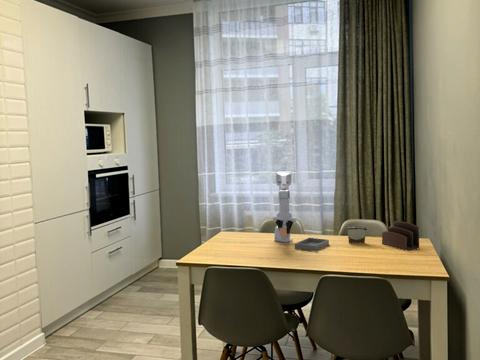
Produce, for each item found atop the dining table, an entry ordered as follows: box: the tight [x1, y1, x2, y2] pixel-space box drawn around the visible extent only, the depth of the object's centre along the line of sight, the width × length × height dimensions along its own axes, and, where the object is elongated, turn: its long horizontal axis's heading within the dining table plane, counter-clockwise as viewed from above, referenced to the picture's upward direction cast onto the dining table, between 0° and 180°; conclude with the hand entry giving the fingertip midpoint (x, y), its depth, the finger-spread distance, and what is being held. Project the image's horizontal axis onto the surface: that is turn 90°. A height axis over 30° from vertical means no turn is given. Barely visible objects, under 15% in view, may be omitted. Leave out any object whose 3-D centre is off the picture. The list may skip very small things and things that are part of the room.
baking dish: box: [294, 237, 330, 252], centre depth 263 cm, size 13×19×3 cm
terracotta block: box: [279, 227, 291, 237], centre depth 262 cm, size 4×4×5 cm
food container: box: [345, 224, 368, 244], centre depth 272 cm, size 12×6×10 cm, turn 84°
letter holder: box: [381, 220, 420, 251], centre depth 259 cm, size 10×20×14 cm, turn 23°
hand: (284, 233), depth 262 cm, fingers closed on terracotta block, 4 cm apart
